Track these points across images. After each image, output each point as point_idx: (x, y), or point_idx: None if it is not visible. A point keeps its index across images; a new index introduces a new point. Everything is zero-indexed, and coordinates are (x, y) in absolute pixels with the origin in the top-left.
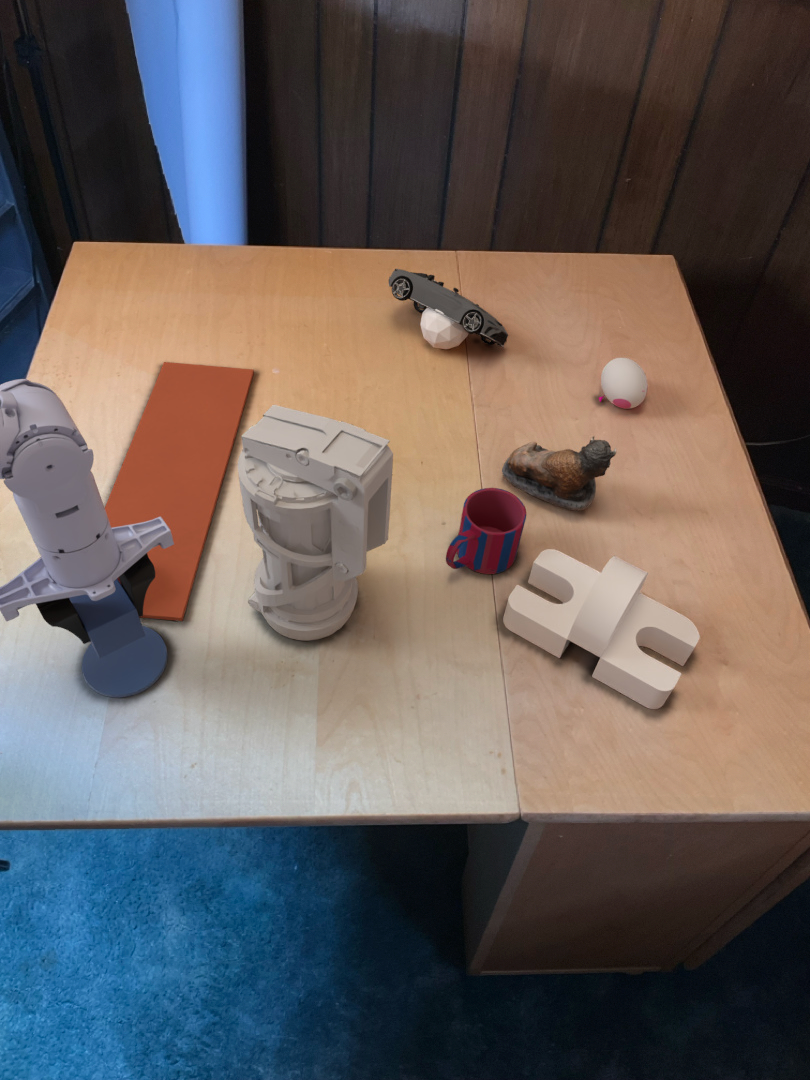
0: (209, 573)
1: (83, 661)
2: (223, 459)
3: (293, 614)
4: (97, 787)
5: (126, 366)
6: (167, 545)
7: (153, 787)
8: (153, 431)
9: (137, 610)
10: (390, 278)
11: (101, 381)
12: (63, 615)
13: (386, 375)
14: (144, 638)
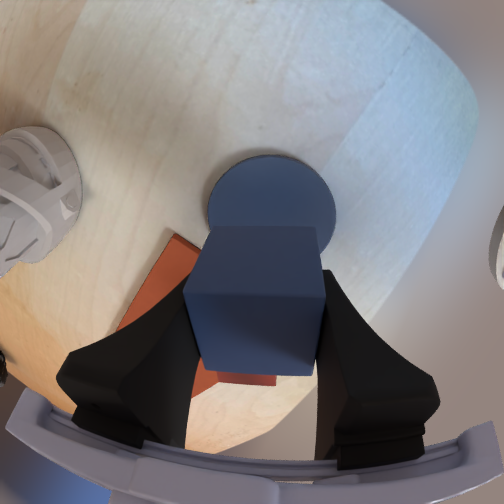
0: (129, 275)
1: (323, 247)
2: None
3: (19, 155)
4: (393, 54)
5: None
6: (32, 397)
7: (322, 3)
8: None
9: None
10: (1, 385)
11: (188, 434)
12: (394, 407)
13: (9, 337)
14: None
